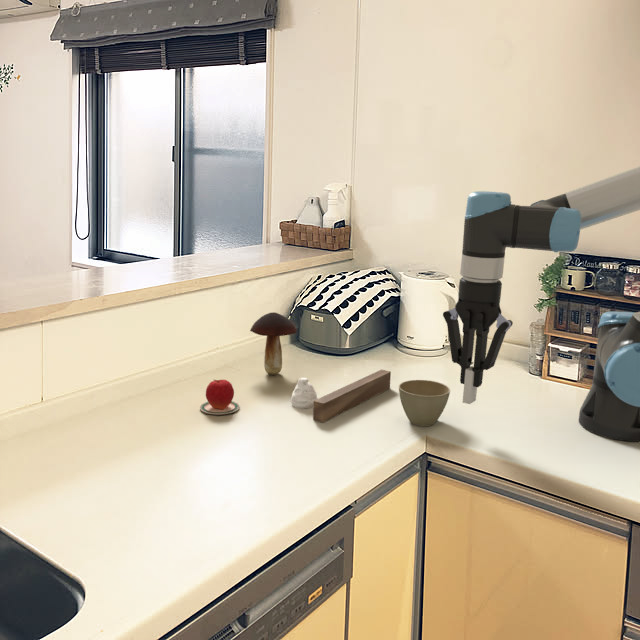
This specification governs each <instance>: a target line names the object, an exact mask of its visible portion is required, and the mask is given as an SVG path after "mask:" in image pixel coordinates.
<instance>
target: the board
mask: <svg viewBox="0 0 640 640" xmlns="http://www.w3.org/2000/svg"><path fill="white" fill-rule="evenodd" d="M391 373H392V371H391V370H386V369H380V370H378V371H376V372H373V373H371V374H368V375H367V376H365V377H362V378H360V379H358V380H356V381H353V382H351V383H350V384H347V385H345V386H343V387H341V388H339V389H336V390H334V391H332V392H330V393H328V394H327V393H326V395H324V396H320V397H318V398H317V400H314V403H313V407H312V408H313V411H312V412H313V413H312V414H313V415H312V420H313V421H316V422H319V423H323V424H324V423H326V422H327V421H329V420H331V419H333V418H335V417H337V416H339V415H341V414H343V413H345V412H347V411H349V410H351V409H352V408H355V407H357V406H359V405H360V404H362V403H365V402H367V401H369V400H370V399H372V398H374V397H376V396H378V395H380V394H382V393H384V392H386V391H388V390H389V389H391Z"/></svg>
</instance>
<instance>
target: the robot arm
mask: <svg viewBox="0 0 640 640" xmlns="http://www.w3.org/2000/svg"><path fill="white" fill-rule="evenodd" d="M511 200H512V199H511V195H510V193H507V192H498V191H487V190H484V191H483V190H482V191H481V190H480V191H473V192H471V193H470V194H469V195H468V197H467V200H466V201H467V202H466V207H465V208H466V209H465V216H464V223H463V237H462V239H463V240H462V250H461V251H462V252H461V263H460V269H459V270H460V271H459V274H460V276H461V278H460V279H459V283H458V285H459V286H458V292H457V293H458V294H457V295H458V299H457V302H456V303H455V305H454V307H453V308H452V309H448V310H445V311H444V312H443V313H442V317H443V319H444V322H445V323H446V326H447V334H448V341H449V348H450V354H451V355H450V356H451V361H452V363H453V364H457V365H458V366H460V378H459V381H460V384H462V385H463V393H462V394H463V395H462V403H464V404H466V405H467V404H468V405H471V404H473V403H475V402H476V400H477V393H478V392H477V391H478V388H479V387H481V386H482V384H483V376H484V371H488V370H489V369H492V368H494V366H495V364H496V362H497V359H498V355H499V353H500V350H501V347H502V344H503V341H504V340H505V337H506V334H507V332H508V331H509V329H510V328H511V327H512V326H513V320H511V319H507V318H506V317H505V316H503V315H502V310H501V309H502V308H501V306H500V303H501V296H502V285H503V284H502V281H501V279H502V278H503V274H504V264H505V258H506V249H507V248H508V249H509V248H511V249H522V250H523V249H525V250H526V249H527V250H535V251H548V252H553V253H559V252H561V253H562V252H563V253H566V252H568V253H571V252H574V251H575V250H577V248H578V246H579V240H580V235H581V233H580V232H581V230H583V229H587V228H590V227H593V226H596V225H599V224H603V223H605V222H607V221H608V222H609V221H611V220H613V219H617V218H620V217H623V216H625V215H629V214H632V213H634V212H638V211H640V165H639V166H637V167H634V168H631V169H629V170H626V171H623V172H620V173H617V174H615V175H612V176H609V177H606V178H603V179H600V180H598V181H595V182H592V183H589V184H586V185H584V186H582V187H581V186H580V187H577V188H576V189H572V190H569V191H568V192H565V193H563V194H559V195H556V196H553V197H551V198H548V199H541V200H537V201H535V202H533V203H531V204H530V205H519V204H513V203H512V201H511ZM459 319H460V321H461V322H462V334H463V335H462V339H461V331H460V324H459V323H460V322H459ZM495 322H496V324H495ZM494 324H495V326H496V330H495V331H494V334H493V337H492V340H491V343H490V345H489V349H487V347H488V339H489V333H490V328H491V327H492V325H494ZM597 328H598V334H597V342H596V352H595V358H594V367H593V377H592V385H591V387H590V388H589V391H588V393H587V394H586V397H585V399H584V400H583V402H582V404H581V407H580V410H579V414H578V415H579V416H578V423H579V425H580V426H581V427H583V428H584V429H586V430H588V432H591V433H594V434H595V435H598V436H601V437H605V438H608V439H613V440H617V439H618V441H623V442H625V441H626V442H640V311H638V312H637V311H636V312H631V311H606V312H604V313H602V314H601V315H600V319H599V323H598V325H597ZM475 335H476V338H475ZM474 342H475V344H474ZM474 345H475V347H474ZM474 348H475V349H474ZM473 355H474V359H473ZM473 360H474V361H473ZM471 365H473V366H471Z"/></svg>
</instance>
